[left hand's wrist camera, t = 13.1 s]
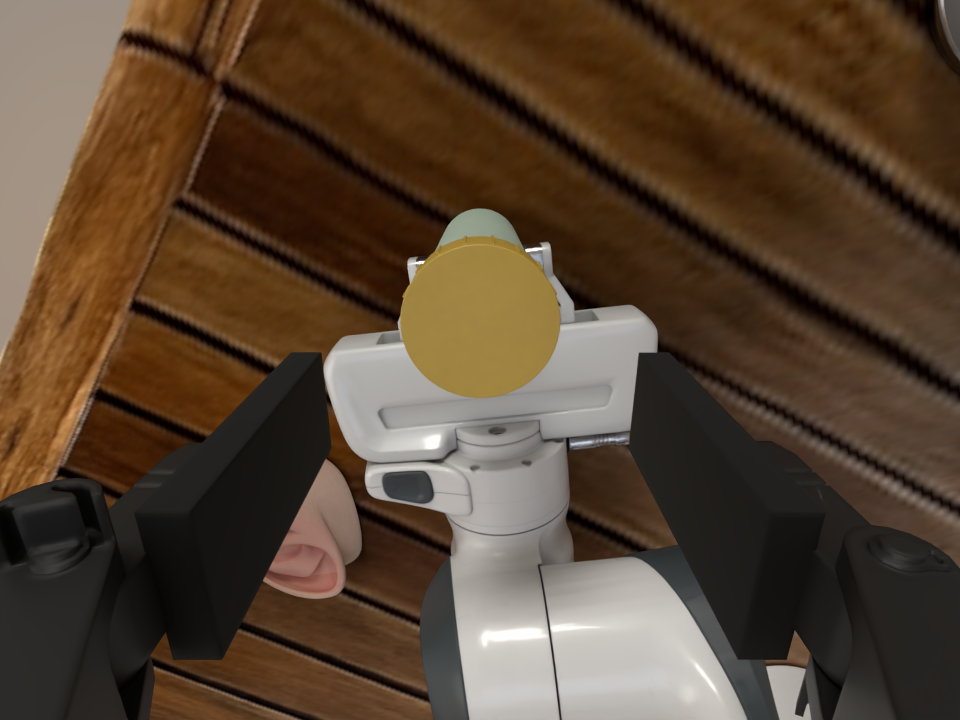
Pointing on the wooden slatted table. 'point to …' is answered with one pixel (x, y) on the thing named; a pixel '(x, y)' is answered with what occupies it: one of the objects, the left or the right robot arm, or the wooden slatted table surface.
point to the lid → (480, 317)
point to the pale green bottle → (479, 227)
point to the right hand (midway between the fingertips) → (477, 251)
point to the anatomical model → (319, 540)
